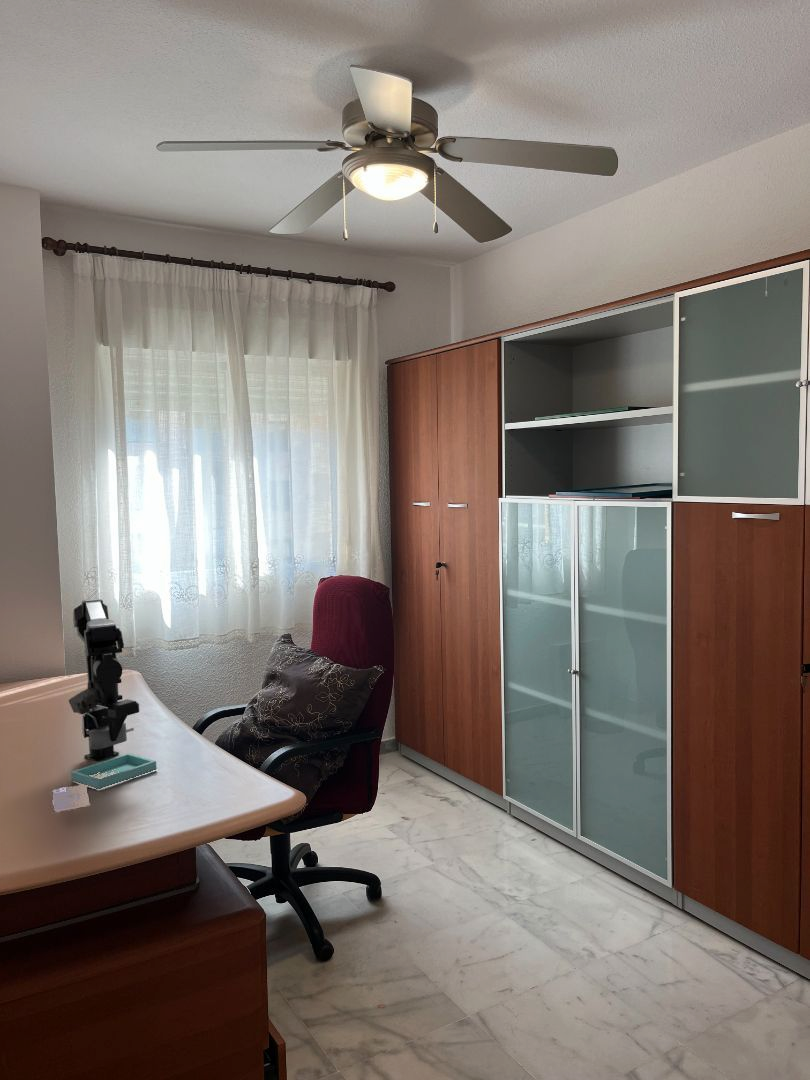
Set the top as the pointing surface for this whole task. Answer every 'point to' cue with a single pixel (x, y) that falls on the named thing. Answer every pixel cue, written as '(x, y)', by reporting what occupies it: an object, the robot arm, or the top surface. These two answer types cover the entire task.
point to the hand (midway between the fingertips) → (108, 739)
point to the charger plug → (107, 737)
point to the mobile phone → (64, 798)
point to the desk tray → (123, 764)
